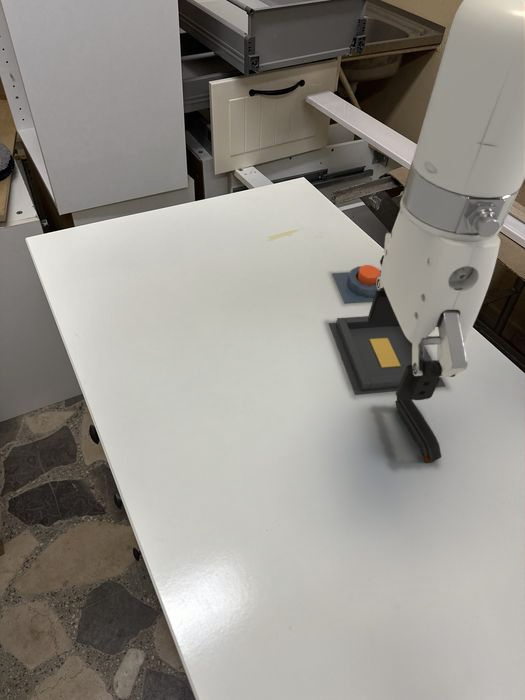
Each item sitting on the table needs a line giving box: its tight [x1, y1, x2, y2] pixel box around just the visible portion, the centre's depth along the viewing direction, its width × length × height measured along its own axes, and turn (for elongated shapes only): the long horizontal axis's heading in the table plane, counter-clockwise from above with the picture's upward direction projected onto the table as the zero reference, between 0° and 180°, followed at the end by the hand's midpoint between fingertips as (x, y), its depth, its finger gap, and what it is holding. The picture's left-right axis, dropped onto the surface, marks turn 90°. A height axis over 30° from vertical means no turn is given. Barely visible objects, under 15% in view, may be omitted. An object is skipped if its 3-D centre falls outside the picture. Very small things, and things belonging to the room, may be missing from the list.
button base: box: [331, 265, 381, 304], centre depth 91 cm, size 10×8×3 cm
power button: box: [357, 264, 381, 285], centre depth 90 cm, size 4×4×2 cm
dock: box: [328, 315, 447, 396], centre depth 80 cm, size 14×15×2 cm
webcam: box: [395, 398, 442, 464], centre depth 69 cm, size 9×6×6 cm
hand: (396, 357), depth 50 cm, fingers open, 9 cm apart
